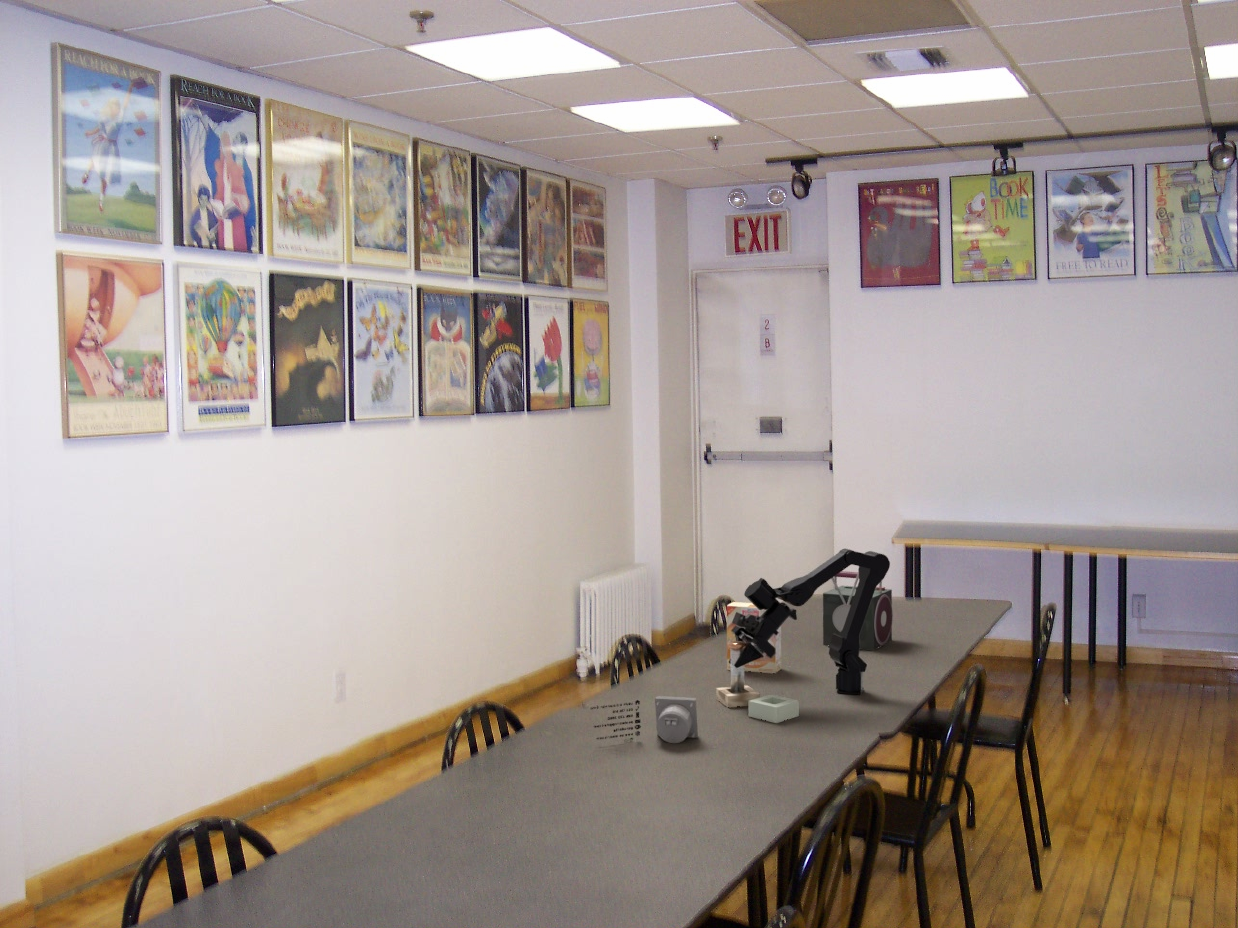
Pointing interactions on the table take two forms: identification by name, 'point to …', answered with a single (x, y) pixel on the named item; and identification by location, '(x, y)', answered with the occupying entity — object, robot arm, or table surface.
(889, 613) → the boombox
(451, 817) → the table surface
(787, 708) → the dock socket
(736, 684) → the lock pin
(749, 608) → the coffeecake box
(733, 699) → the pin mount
